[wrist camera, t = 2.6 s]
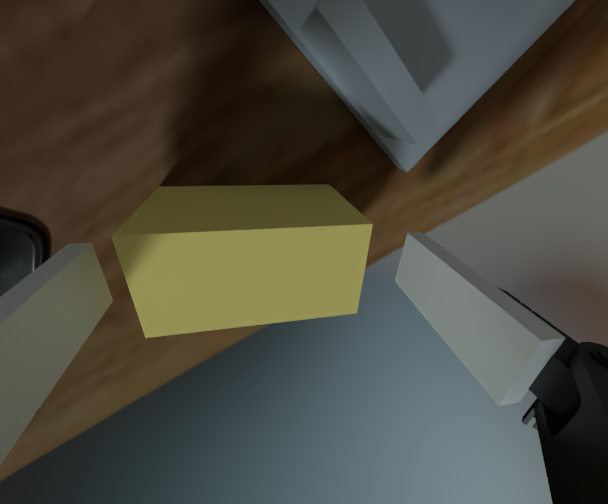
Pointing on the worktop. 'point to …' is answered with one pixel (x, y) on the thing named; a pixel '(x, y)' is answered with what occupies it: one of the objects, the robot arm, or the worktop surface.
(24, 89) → the worktop surface
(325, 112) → the worktop surface
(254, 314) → the butter stick brick
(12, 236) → the smartphone
